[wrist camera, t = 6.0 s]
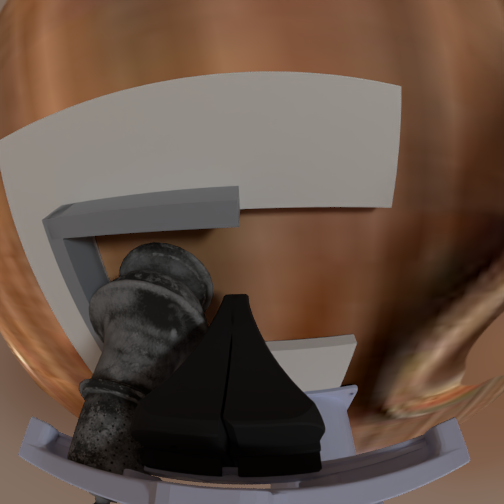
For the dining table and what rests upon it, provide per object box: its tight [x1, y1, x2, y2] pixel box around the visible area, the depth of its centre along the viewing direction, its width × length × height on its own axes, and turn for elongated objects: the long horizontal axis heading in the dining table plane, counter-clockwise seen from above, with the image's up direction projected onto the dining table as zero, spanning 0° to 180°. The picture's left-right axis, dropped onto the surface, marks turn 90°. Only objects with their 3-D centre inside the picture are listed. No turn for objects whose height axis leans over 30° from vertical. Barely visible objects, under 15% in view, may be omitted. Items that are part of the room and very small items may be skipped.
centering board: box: [0, 72, 401, 392], centre depth 13 cm, size 20×20×2 cm
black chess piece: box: [67, 243, 213, 504], centre depth 9 cm, size 6×6×12 cm
